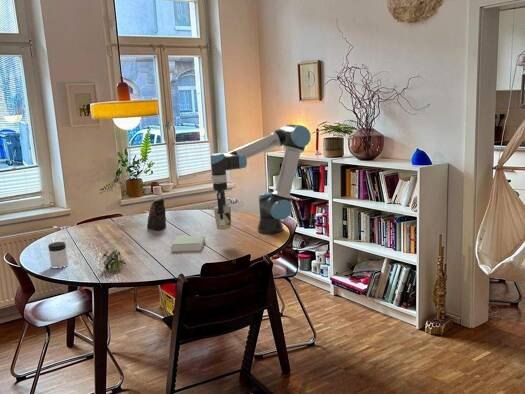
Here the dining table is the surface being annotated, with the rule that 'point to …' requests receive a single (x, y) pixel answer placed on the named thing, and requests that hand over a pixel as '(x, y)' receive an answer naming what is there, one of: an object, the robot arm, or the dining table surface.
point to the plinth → (188, 243)
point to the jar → (58, 254)
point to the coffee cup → (226, 215)
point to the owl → (157, 215)
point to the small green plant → (117, 263)
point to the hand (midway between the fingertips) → (223, 222)
